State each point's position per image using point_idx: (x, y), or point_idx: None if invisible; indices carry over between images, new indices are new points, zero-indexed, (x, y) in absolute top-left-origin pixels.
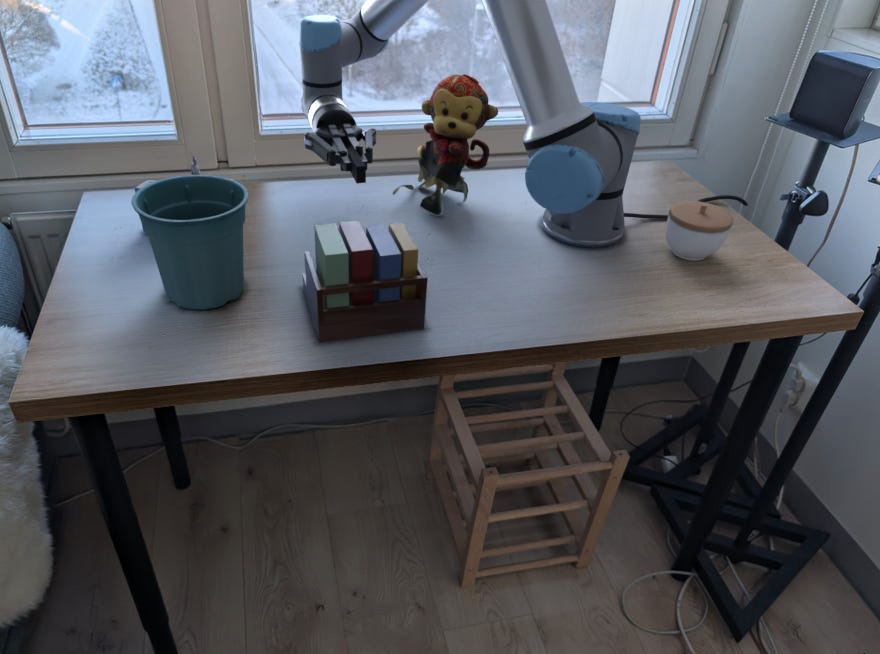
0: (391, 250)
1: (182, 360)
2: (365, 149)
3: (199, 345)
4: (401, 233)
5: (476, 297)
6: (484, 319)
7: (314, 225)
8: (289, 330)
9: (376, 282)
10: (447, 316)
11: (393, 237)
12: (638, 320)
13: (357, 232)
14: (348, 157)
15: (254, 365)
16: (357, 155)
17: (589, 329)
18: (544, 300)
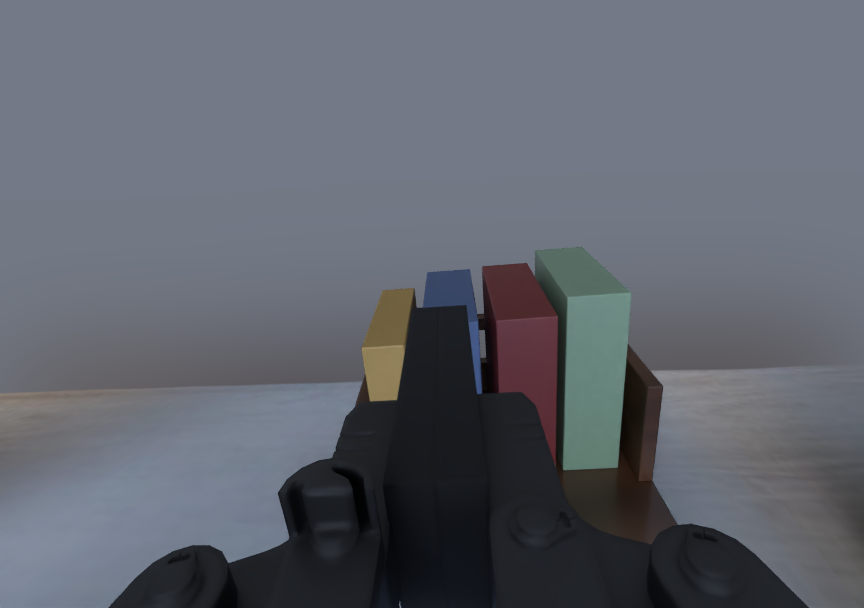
0: (442, 276)
1: (841, 396)
2: (226, 600)
3: (840, 421)
4: (391, 318)
5: (233, 486)
6: (276, 430)
7: (630, 292)
8: (661, 438)
9: (481, 314)
10: (334, 442)
11: None
12: (56, 408)
13: (507, 292)
14: (489, 469)
15: (694, 381)
16: (412, 404)
17: (146, 400)
18: (119, 462)
